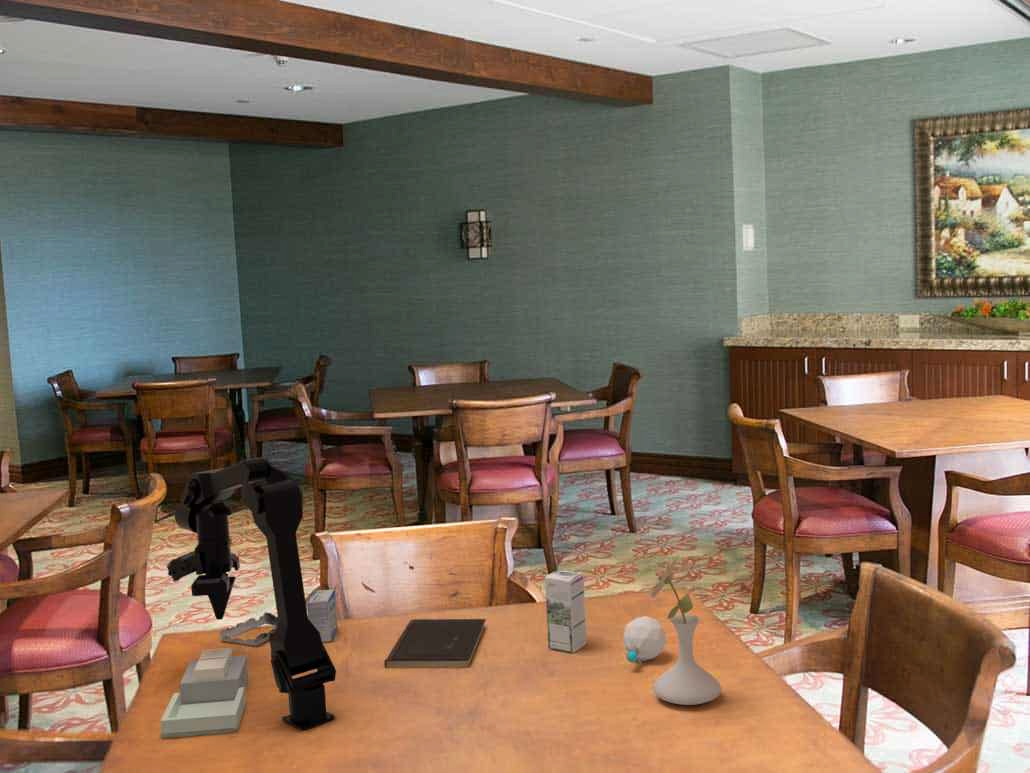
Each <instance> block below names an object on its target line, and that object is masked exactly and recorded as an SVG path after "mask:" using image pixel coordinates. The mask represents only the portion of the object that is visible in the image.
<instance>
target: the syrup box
mask: <svg viewBox="0 0 1030 773" xmlns="http://www.w3.org/2000/svg"><path fill="white" fill-rule="evenodd" d="M544 587H545V588H544V589H545V610H546V628H547V648H548V649H549V650H553V651H554V650H555V651H561V652H566V653H571V654H574V653H576V652H577V651H579V650H580V649H582V648H583V647H585V646H586V645H587V641H588V640H587V627H586V603H585V599H586V598H585V576H584V573H583V572H578V571H577V572H576V571H571V570H570V571H569V570H563V569H562V570H561V569H557V570H555V571H552V572H551V573H549V574H547V575H546V576H545V577H544Z"/></svg>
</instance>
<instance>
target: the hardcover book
mask: <svg viewBox="0 0 1030 773" xmlns="http://www.w3.org/2000/svg"><path fill="white" fill-rule="evenodd" d="M486 621H487V619H486V618H458V619H457V618H453V619H452V618H447V619H446V618H440V619H439V618H438V619H435V618H431V619H428V618H425V619H424V618H423V619H417V618H415V619H410V620H409V622H408V623H407V625H406V626H405V628H404V629H403V631H402V633H401V635H400V636H399V638H398V640H397V641H396V643H395V644H394V646H393V648H392V649H391V651H390V652H389V654H388V656H387V657H386V659H385V661H384V668H385V669H386V668H388V669H389V667H391V668H395V669H396V668H397V667H398V669H399V667H401V669H402V668H403V669H404V667H408V668H410V667H411V669H412V668H415V667H418V668H420V669H421V668H422V669H423V668H468V666H469V664H470V662H471V660H472V657H473V655H474V652H475V650H476V648H477V645H478V643H479V641H480V638H481V636H482V633H483V631H484V630H485V623H486ZM391 668H390V669H391Z"/></svg>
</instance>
